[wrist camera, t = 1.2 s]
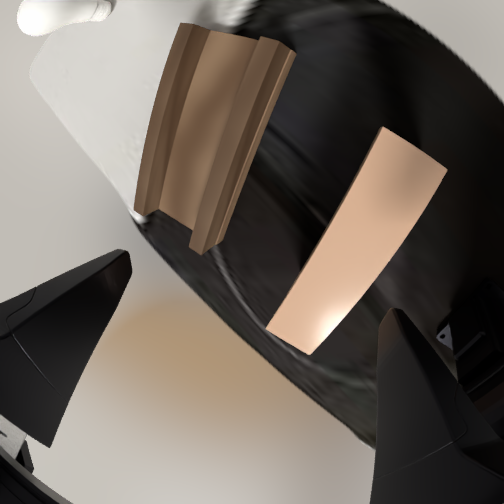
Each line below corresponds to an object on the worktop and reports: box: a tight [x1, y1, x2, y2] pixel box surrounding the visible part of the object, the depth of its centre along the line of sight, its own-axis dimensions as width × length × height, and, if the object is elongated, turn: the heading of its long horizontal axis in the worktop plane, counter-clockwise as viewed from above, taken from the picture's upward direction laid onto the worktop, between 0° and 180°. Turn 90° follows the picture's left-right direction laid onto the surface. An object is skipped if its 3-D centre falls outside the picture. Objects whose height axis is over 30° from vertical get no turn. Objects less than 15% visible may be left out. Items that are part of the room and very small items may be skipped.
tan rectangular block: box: [266, 127, 447, 355], centre depth 15 cm, size 3×12×7 cm, turn 158°
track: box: [134, 23, 296, 255], centre depth 18 cm, size 8×16×3 cm, turn 158°
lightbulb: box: [17, 0, 111, 36], centre depth 12 cm, size 6×6×11 cm
